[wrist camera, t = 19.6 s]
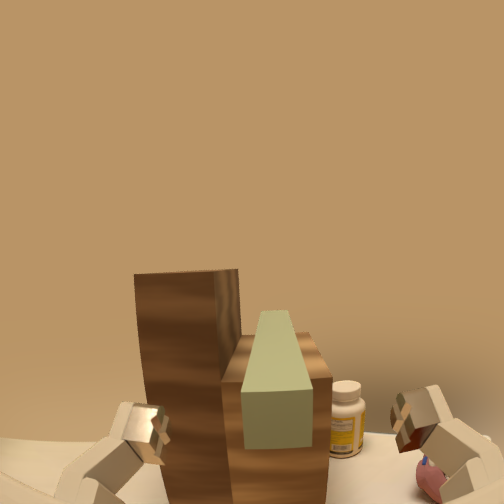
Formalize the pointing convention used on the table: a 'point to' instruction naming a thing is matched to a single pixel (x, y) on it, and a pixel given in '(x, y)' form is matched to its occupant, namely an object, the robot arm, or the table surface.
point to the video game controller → (430, 478)
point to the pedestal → (220, 395)
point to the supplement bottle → (346, 419)
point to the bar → (276, 388)
